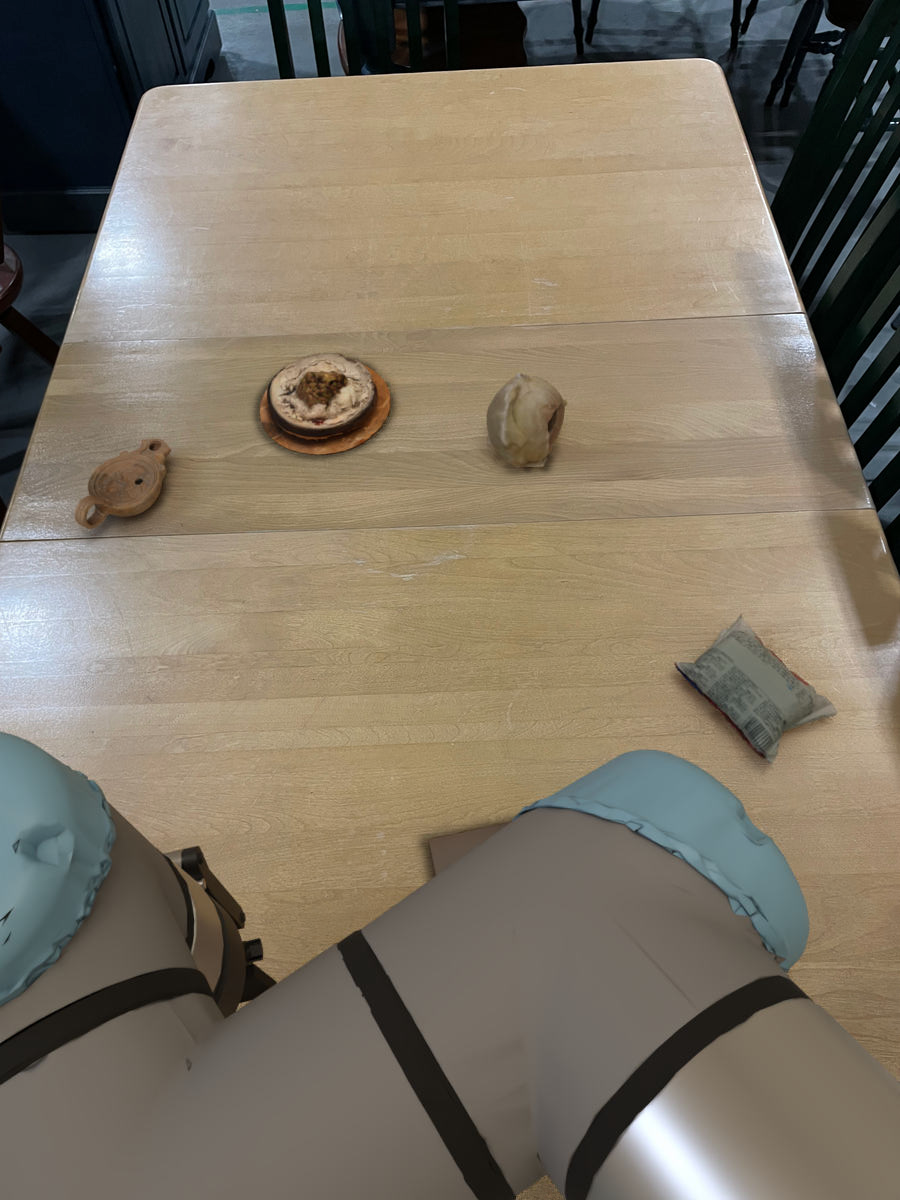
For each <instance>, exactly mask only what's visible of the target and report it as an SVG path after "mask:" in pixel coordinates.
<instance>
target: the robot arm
mask: <svg viewBox="0 0 900 1200" xmlns="http://www.w3.org/2000/svg"><path fill="white" fill-rule="evenodd" d="M510 822H511V821H510ZM808 911H809V910H808V905H807V902H806V899H805V897H804V894H803V891H802V888H801V886H800V883H799V881H798V879H797V878H796V876H795V873H794V872H793V869H792V868H791V866H790V864H789V862H788V861H787V859H786V856H785V855H784V854H783V852H782V851H781V849H780V848H779V847H778V845H777V844H776V843H775V841H774V840H773V838H772V837H771V836H769V834H766V833H764V832H763V831H761V830H760V829H759V828H758V827H757V826H756V825H755V824H754V822H753V821H752V820H751V818H750V816H749V815H748V814H747V812H746V810H745V806H744V804H743V802H742V801H741V800H740V798H738V797H737V795H735V793H733V792H732V791H731V790H730V789H729V788H727V787H726V786H725V785H724V784H723V783H722V782H720V780H718V779H717V778H716V777H714V776H713V775H712V774H710V773H709V772H707V770H704V769H703V768H701V767H700V766H698V765H697V764H695V763H693V762H692V761H689V760H687V759H685V758H684V757H680V756H678V755H675V754H673V753H670V752H667V751H663V750H659V749H635V750H631V751H627V752H624V753H621V754H619V755H617V756H615V757H613V758H612V759H610V760H608V761H607V762H605V763H604V764H602V765H600V766H599V767H597V768H595V769H594V770H591V771H590V772H588V773H587V774H584V775H583V776H582V777H580V778H578V779H577V780H575V781H573V782H571V783H569V784H568V785H566V786H564V787H562V788H560V789H559V790H558V791H556V792H554V793H553V794H551V795H548V797H544V798H541V799H537V800H535V801H534V802H532V803H531V804H529V805H525V806H523V807H522V809H520V811H519V812H518V813H517V814H516V815H515V816H514V817H513V818H512V822H511V823H509V824H508V825H507V826H505V827H504V828H502V829H501V830H500V831H498V832H497V833H495V834H494V835H493V836H491V837H490V838H488V839H487V840H486V841H484V842H483V843H481V844H480V845H479V846H477V847H476V848H474V849H473V850H471V851H470V852H469V853H467V854H466V855H464V856H463V857H462V858H460V859H459V860H457V861H456V862H455V863H453V864H452V865H450V866H449V867H448V868H446V869H445V870H443V871H442V872H441V873H439V874H438V875H436V876H435V875H434V876H433V877H432V878H431V879H429V880H428V881H427V882H425V883H423V884H422V885H421V886H420V887H418V888H416V889H415V890H414V891H413V892H411V893H410V894H408V895H407V896H405V897H404V898H402V899H401V900H399V901H398V902H397V903H395V904H394V905H393V906H391V907H390V908H388V909H387V910H386V911H384V912H383V913H382V914H380V915H379V916H377V917H376V918H375V919H373V920H372V921H370V922H368V923H367V924H366V925H365V926H363V927H361V928H359V929H357V930H354V931H353V932H351V933H350V934H349V935H347V936H346V937H345V938H343V939H341V940H340V941H339V942H334V943H333V944H332V945H331V946H329V947H327V948H326V949H325V950H323V951H322V952H320V953H319V954H317V955H316V956H314V957H313V958H312V959H310V960H309V961H307V962H306V963H304V964H302V965H301V966H300V967H298V968H297V969H296V970H294V971H293V972H291V973H289V974H288V975H287V976H285V977H284V978H282V979H280V980H279V981H277V980H276V979H274V978H273V977H272V976H271V975H270V974H268V973H267V972H265V971H264V970H263V969H262V968H260V967H259V966H258V965H256V964H255V963H256V962H260V961H263V960H264V947H263V942H262V939H261V938H260V937H258V938H254V939H253V938H252V939H249V940H242V936H241V933H240V930H244V929H245V927H246V924H245V923H246V921H247V918H246V917H247V916H246V913H245V912H244V910H243V907H242V906H241V904H240V903H239V902H237V900H236V899H235V897H234V896H233V895H232V894H231V893H230V892H229V890H227V888H226V887H225V886H224V884H222V882H221V881H220V880H219V879H218V877H217V876H216V875H215V874H214V872H212V871H211V869H210V867H209V864H208V862H207V860H206V857H205V855H204V852H203V851H202V849H201V846H199V845H195V846H190V847H186V848H181V849H177V850H173V851H169V852H164V853H163V852H162V851H161V850H159V848H158V847H156V846H155V845H154V844H153V843H152V842H150V840H149V839H147V837H146V836H145V835H143V834H142V833H141V832H140V831H139V830H138V829H137V828H136V827H135V826H134V825H133V824H132V823H131V822H130V821H129V820H127V818H125V816H124V815H122V814H121V812H119V811H118V810H117V808H115V807H114V806H113V805H112V804H111V803H110V802H109V801H108V800H107V798H106V796H105V793H104V791H103V790H102V788H101V787H100V785H99V784H98V783H97V782H96V780H93V779H89V776H87V775H86V774H84V773H83V772H82V771H79V770H75V769H73V768H72V767H70V765H67V764H65V763H64V762H62V761H61V760H59V759H58V758H56V757H55V756H54V755H52V754H50V753H49V752H47V751H46V750H44V749H43V748H41V746H38V745H37V744H35V743H34V742H32V741H30V740H28V739H25V738H23V737H20V736H18V735H15V734H11V733H8V732H5V731H0V1200H517V1197H518V1196H519V1195H520V1194H522V1193H523V1192H525V1191H526V1190H528V1189H529V1188H530V1187H532V1186H533V1185H534V1184H535V1183H537V1182H538V1181H540V1180H541V1179H543V1178H544V1177H545V1176H546V1177H548V1178H549V1179H550V1181H551V1182H552V1184H553V1185H554V1186H555V1188H556V1189H557V1191H558V1192H559V1194H560V1195H561V1196H562V1198H563V1199H564V1200H900V1081H899V1080H898V1079H897V1078H896V1076H894V1075H893V1074H892V1073H891V1072H890V1070H888V1069H887V1068H886V1067H885V1066H884V1065H883V1064H882V1063H881V1062H880V1061H879V1060H878V1059H877V1058H876V1057H874V1055H873V1054H872V1053H871V1052H870V1051H868V1050H867V1049H866V1047H865V1046H863V1045H862V1044H861V1043H860V1042H859V1041H858V1040H857V1039H856V1038H855V1037H854V1036H853V1035H852V1034H851V1033H850V1032H849V1031H847V1029H846V1028H844V1026H842V1025H841V1023H839V1022H838V1021H837V1020H836V1018H834V1017H833V1016H832V1015H831V1014H830V1013H829V1012H828V1011H827V1010H826V1009H825V1008H824V1007H823V1006H822V1005H821V1004H818V1003H816V1002H815V1001H814V1000H813V999H812V998H811V997H810V996H809V995H808V994H807V993H806V992H805V991H804V990H803V989H802V988H800V987H799V985H797V983H795V981H794V980H792V978H791V977H790V976H789V975H788V974H787V973H789V971H790V969H791V968H792V967H793V966H794V965H795V964H796V963H797V962H798V961H799V960H800V959H801V958H802V956H803V954H804V952H805V950H806V948H807V944H808V941H809V934H810V918H809V913H808ZM243 1003H246V1004H244V1005H243V1006H241V1007H240V1008H239V1005H240V1004H243Z"/></svg>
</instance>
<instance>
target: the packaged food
mask: <svg viewBox="0 0 900 1200" xmlns="http://www.w3.org/2000/svg"><path fill="white" fill-rule="evenodd" d="M674 666H675V670H677V671H678V672H679V674H680V675H681V676H682V678H683V679H684V680H685V681H686V682H687V683H689V685H690V686H691V687H692V688H693V689H694V690H695V691H696V692H697V693H698V694H699V695H700V696H702V698H704V699H705V700H706V701H707V702H708V703H709V704H710V705H711V706H712V707H713V708H714V709H715V710H717V711H718V712H720V714H721V716H722V717H723V719H724V720H725V721H726V722H727V723H728V724H729V725H730V726H731V727H732V728H733V729H734V730H735V732H736V733H737V734H738V735H739V736H740V738H741V739H742V740H743V741H744V742H745V743H746V744H747V745H748V746H749V748H750V749H751V750H752V751H753V752H754V753H755V754H756V755H757V756H758V757H760V758H761V759H763V760H764V761H766V762H768V763H769V764H771V765H773V763H774V761H775V760H776V757H777V756H778V751H779V750H778V749H779V747H780V741H781V739H782V736H783V733H786V732H788V731H790V730H792V729H795V728H798V727H801V726H805V725H808V724H811V723H813V722H816V721H819V720H821V719H824V718H826V719H829V718H830V717H836V716H837V715H838V710H837V708H836V707H835V705H834V704H833V703H832V701H831V700H830V699H828V697H827V696H825V695H822V694H819V693H817V690H816V689H815V688H814V686H813V685H811V684H810V683H809V682H807V681H805V679H803V678H802V677H801V676H800V675H799V674H797V673H796V672H794V671H793V670H790V669H789V668H787V666H786V664H785V663H784V662H783V660H782V659H781V658H780V657H779V656H778V655H777V654H776V653H775V651H774V650H772V649H769V648H768V647H767V646H765V645H764V642H763V640H762V639H761V638H760V637H759V636H758V635H757V633H756V632H755V631H754V630H753V629H752V627H751V626H750V625H749V624H748V623H747V622H746V621H745V619H744V618H743V613H740V614H739V616H738V617H737V619H736V620H735V621H734V622H732V624H731V626H730V627H729V628H728V629H727V628H723V629H722V630H720V632H719V634H718V636H717V638H716V640H715V641H714V642H713V643H712V645H711V646H710V647H709V648H707V650H706V651H704V652H703V653H702V654H700V656H699V657H698V658H696V660H695V661H694V662H685V661H682V662H679V661H675V662H674Z"/></svg>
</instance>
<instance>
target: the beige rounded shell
mask: <svg viewBox="0 0 900 1200" xmlns="http://www.w3.org/2000/svg"><path fill="white" fill-rule="evenodd" d="M567 406H568V400H566V399H564V398H563V396H562V394H561V393H560V392H559V390H558V389H557V388H556V387H555V386H554V385H553V384H552V383H550V382H549V381H548V380H546V379H544V378H541V377H539V376H535V375H527V374H523V373H521V372H516V375H515V376H514V377H512V378H511V379H509V380H508V381H507V382H506V383H504V385H503V386H502V387H501V388H500V389H499V390H498V391H497V392H496V393H495V395H494V396H493V398H492V399H491V401H490V403H489V404H488V407H487V411H486V430H487V440H486V445H487V448H488V449H489V450H491V451H497V453H498V454H499V455H500V456H501V457H502V458H503V459H504V460H506V461H507V462H508V464H510V465H512V466H513V467H515V468H524V467H528V468H529V467H530V468H543V467H545V463H546V462H547V461H548V460H547V458H548V457H547V456H548V455H549V454H550V453H551V452H552V451H553V447H554V444H555V443H556V441H557V440H558V438H559V436H560V433H561V429H562V426H563V424H564V421H565V411H566V407H567Z"/></svg>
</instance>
